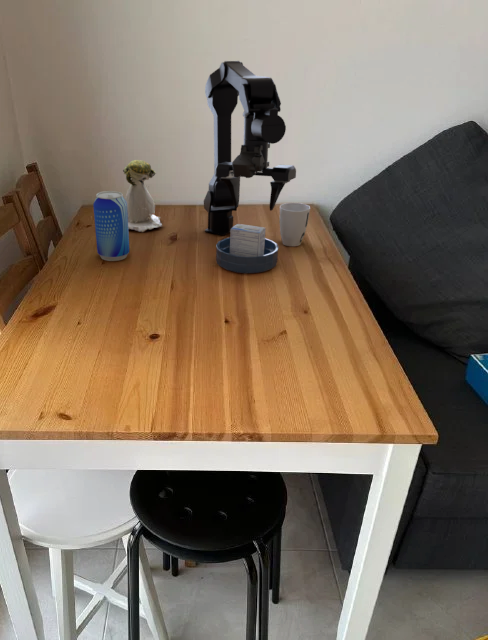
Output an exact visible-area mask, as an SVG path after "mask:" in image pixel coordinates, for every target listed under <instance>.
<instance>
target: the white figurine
mask: <svg viewBox="0 0 488 640" xmlns="http://www.w3.org/2000/svg"><path fill="white" fill-rule="evenodd" d="M122 172H123V175H125V179H126V182H127V183H129V184H130V185H129V186H128V189H127V191H126V195H125V198H124V199H125V200H126V202H127V213H128V230H134V231H136V232H141V233H144V232H146V231H147V230H153V229H154V228H160V227H163V223H162V222H161V220H160V219H161V216H156V215H155V211H156V206H157V205H156V204H155V203H156V202H155V200H154V199H153V197H152V196H151V194H150V192H149V191H148V188H149V187H150V186H146V184H145V181H149V180H150V179H152V178H154V176H155V175H156V174H157V172H156V171H155V170H153V168H152V166H151V163H150V164H149V163H148V162H147V161H145V160H140V159H135V160H131V161H129V163H128V164H127V165H126V166H125V167H124V168H123V170H122Z"/></svg>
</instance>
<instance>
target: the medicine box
mask: <svg viewBox="0 0 488 640" xmlns="http://www.w3.org/2000/svg"><path fill="white" fill-rule="evenodd" d="M266 229H267V228H266V227H263V226H257V225H251V224H243V223H236V224H235V225H233V227H232V228H231V232H230V236H229V237H230V254H233V255H238V256H260V255H264V244H265V238H266Z"/></svg>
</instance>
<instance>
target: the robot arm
mask: <svg viewBox="0 0 488 640" xmlns="http://www.w3.org/2000/svg"><path fill="white" fill-rule="evenodd" d="M204 94H205V97H206V103H207V106H208V108H209V110H210V111H211V113H212V115H213V166H214V167H213V169H214V171H213V175H212V176H211V178H210V181H209V182H208V190H207V192H206V195H205V197H204V199H203V209H204V210H205V211H206V213H207V228H206V229H204V232H205V233H209V234H214V235H220V236H225V235H227V234H229V233H231V228H232V227H233V226H234V215H233V211H234V212H236V211H237V209H238V208H239V205H240V204H239V203H240V192H241V191H240V189H241V178H246V179H251V178H253V177H254V176H258V177H259V176H261V177H271V178H272V179H273V180H271V181H270V182H269V184H270V198H269V199H270V200H269V211H272V212H273V210H274V208H275V205H276V203H277V201H278V198H279V196H280V195H281V192H282V190H283V188H284V187H285V185H286V184H288V183H290V182H291V181H292V180H294V179H296V177H297V169H296V167H295V165H294V164H293V165H292V164H278V165H276V166H273V167H270V161H268V158H269V149H270V148H271V145H273V144H277V143H279V142H280V141H281V140H282V139H283V138H284V137H285V134H286V131H287V129H286V128H287V127H286V126H287V125H286V123H285V120H284V119H283V117H281V116H280V115H279V113H280V112H281V111H282V110H281V109H282V108H281V105H282V101H281V99H280V96H279V93H278V90H277V86H276V83H275V81H274V79H273V78H272V77H269V76H264V75H263V76H262V75H256V74H254V73H253V72H252V71H251V70H249V68H247V67H246V66H245V65H244V64H243V62H242V61H240V60H224V61H222V62H221V63H220V65H219V67H218V68H217V69H216V70H214V71H212V73H210V74H209V76H208V78H207V80H206V82H205V85H204ZM238 100H239V102H240V104H241V106H242V109H243V110H244V111H243V113H242V117H244V118H243V144H241V145H240V152H239V154H238V155H237V156H236V157H235V158H234V160H233V161H232V115H233V113H234V111H235V109H236V107H237V106H238Z"/></svg>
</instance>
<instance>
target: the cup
mask: <svg viewBox="0 0 488 640" xmlns="http://www.w3.org/2000/svg"><path fill="white" fill-rule="evenodd" d="M310 212H311V206H310V205H308V204H306V203H301V202H285V203H282V204H280V205H279V220H278V221H279V232H280V233H279V234H280V239H281V242H282V245H284V246H287V247H298V246H300V245H301V244H302V242H303V240H304V237H305V235H306V231H307V227H308V223H309V217H310Z"/></svg>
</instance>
